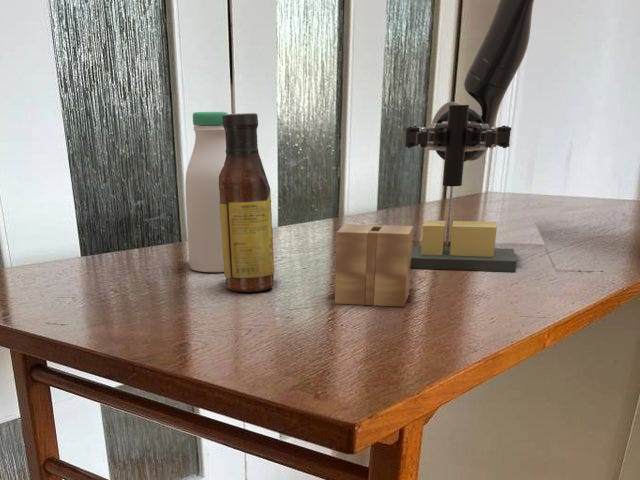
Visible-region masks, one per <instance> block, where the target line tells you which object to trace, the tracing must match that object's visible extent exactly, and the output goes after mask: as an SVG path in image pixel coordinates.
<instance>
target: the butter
mask: <svg viewBox="0 0 640 480" xmlns="http://www.w3.org/2000/svg"><path fill="white" fill-rule="evenodd" d="M497 229H498V225H497V221H471V220H470V221H468V220H467V221H465V220H453V221H452V224H451V235H450V245H449V246H448V252H447V254H445V247H446V246H445V243H446V231H447V220H425V221H424V223H423V224H422V231H421V233H422V234H421V245H412V254H411V269H419V270H442V271H443V270H444V271H446V270H447V271H475V272H500V273H501V272H503V273H504V272H506V273H515V272H516V271H517V257H516V253H515V249H514V248H499V247H496V240H497V239H496V238H497Z"/></svg>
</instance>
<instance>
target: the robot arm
mask: <svg viewBox="0 0 640 480" xmlns="http://www.w3.org/2000/svg"><path fill="white" fill-rule="evenodd" d="M534 3H535V0H498V3H497V6H496V8H495V12H494V14H493V17H492V20H491V21H490V23H489V26H488V29H487V31H486V33H485V35H484V37H483V40H482V42H481V44H480V45H479V48H478V50H477V51H476V54H475V56H474V58H473V60H472V62H471V65H470V66H469V69H468V71H467V72H466V75H465V77H464V80H463V88H464V90H465V92H466V93H467V94H468V95H469V96H470V97H471V98H472V99H473V100H475V101H476V102H477V104H478V105H479V106H480V109H481V114H479V113H478V112H476V111H475V109H472V108H470V107H469V112H468V123H467V133H466V144H465V155H464V163H465V162H468V161H471V162H473V161H476V160H479V159H480V158H481V157H483V156H484V155H485V154H486V152H488V149H494V148H497V147H500V148H502V149H507V148H510V145H511V143H510V141H511V132H512V127H511V126H509V125H501V126H496V121H497V117H498V113H499V110H500V108H501V105H502V103H503V100H504V97H505V95H506V93H507V91H508V89H509V87H510V85H511V83H512V81H513V80H514V78H515V77H516V74H517V73H518V70H519V68H520V66H521V65H522V62H523V60H524V58H525V55H526V53H527V51H528V50H527V49H528V46H529V43H530V36H531V28H532V17H533V10H534V9H533V8H534ZM449 105H461V104H460V103H457V102H455V101H448V102H446V103H444V104H443V105H442V106H440V108H439V109H438V110H437V112H436V113H435V115H434V116H433V118H432V120H431V122H430V124H428V126H427V127H426V126H417V125H413V126H408V127H406V128H405V139H404V142H405V143H404V147H405V148H407V149H411V148H414V147H417V148H419V149H424V148H426V149H427V151H435V152H436V154H437V155H438V156H439V157H440V158H441V160H443V161H445V149H446V137H447V125H448V113H449Z"/></svg>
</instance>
